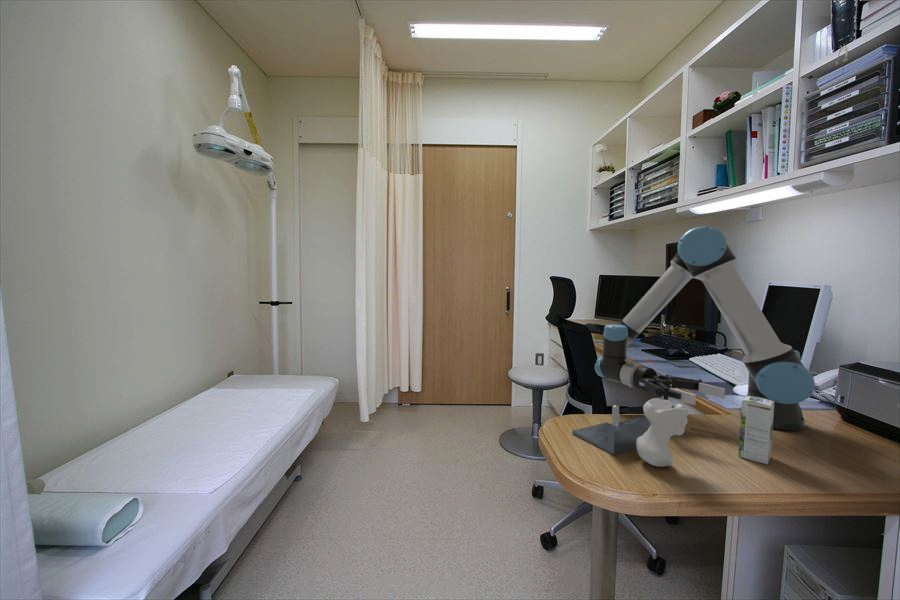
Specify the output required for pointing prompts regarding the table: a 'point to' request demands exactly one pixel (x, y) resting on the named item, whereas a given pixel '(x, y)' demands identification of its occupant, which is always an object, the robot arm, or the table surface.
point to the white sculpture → (661, 431)
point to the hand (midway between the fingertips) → (710, 396)
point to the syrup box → (756, 429)
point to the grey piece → (615, 433)
